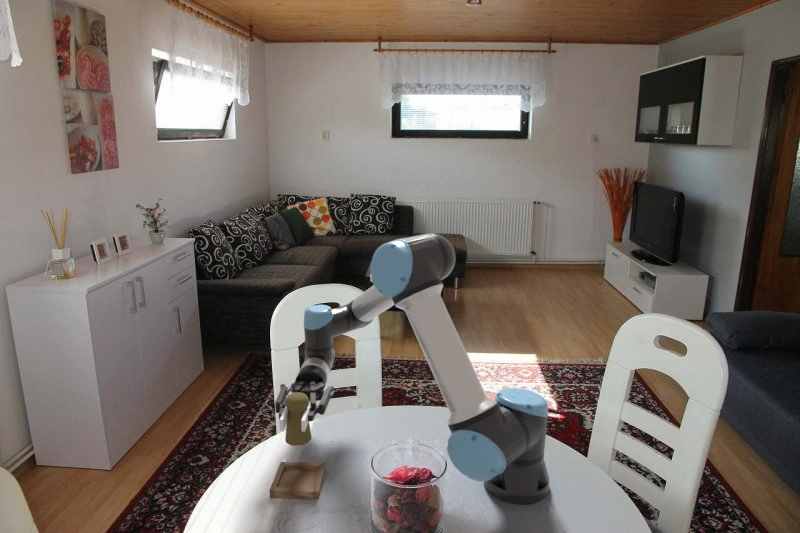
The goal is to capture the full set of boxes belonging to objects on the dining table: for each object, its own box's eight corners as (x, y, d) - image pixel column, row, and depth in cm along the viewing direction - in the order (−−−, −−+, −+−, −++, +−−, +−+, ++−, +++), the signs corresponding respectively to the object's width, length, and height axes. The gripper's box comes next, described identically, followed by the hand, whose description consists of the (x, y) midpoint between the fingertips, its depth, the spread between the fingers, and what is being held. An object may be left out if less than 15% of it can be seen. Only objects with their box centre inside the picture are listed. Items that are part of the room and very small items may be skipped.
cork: (316, 433, 133) (314, 391, 130) (304, 447, 127) (303, 403, 125) (292, 429, 135) (290, 387, 132) (280, 443, 129) (278, 399, 126)
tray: (326, 470, 138) (325, 462, 138) (318, 499, 128) (318, 491, 127) (281, 468, 139) (280, 461, 138) (269, 498, 128) (269, 490, 128)
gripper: (345, 392, 147) (331, 442, 125) (280, 390, 148) (254, 439, 125) (345, 365, 145) (331, 411, 123) (278, 363, 146) (252, 408, 123)
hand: (292, 425), depth 124 cm, fingers closed on cork, 4 cm apart
